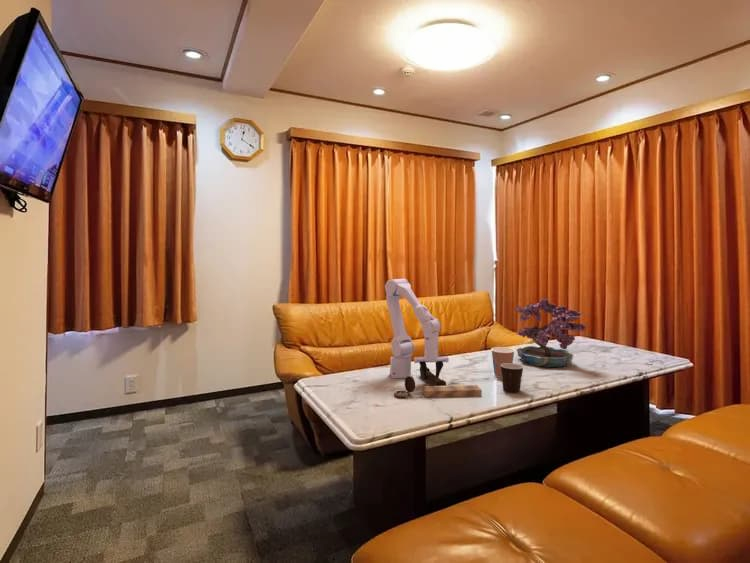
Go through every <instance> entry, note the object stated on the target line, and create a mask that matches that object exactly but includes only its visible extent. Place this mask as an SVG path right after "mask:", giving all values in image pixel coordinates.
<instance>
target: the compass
mask: <svg viewBox="0 0 750 563" xmlns="http://www.w3.org/2000/svg"><path fill="white" fill-rule="evenodd" d="M404 388H405V390H397V391H395V392H394V393H393V396H394V397H395V398H396V399H409V398H411V393H412V392H414V391H415V389H416V381H415V379H414V377H411V376H408V377H406V378H404Z"/></svg>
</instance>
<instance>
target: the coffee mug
mask: <svg viewBox="0 0 750 563" xmlns="http://www.w3.org/2000/svg"><path fill="white" fill-rule="evenodd" d="M523 370H524V366H523V365H521V364H518V363H514V362H513V363H504V364H501V374H502V378H501V380H502V381H501V382H502V390H503V391H504V392H506V393H510V394H517V393H520V392H521V385H522V378H523V373H524V372H523Z"/></svg>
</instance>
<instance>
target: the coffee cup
mask: <svg viewBox="0 0 750 563" xmlns="http://www.w3.org/2000/svg"><path fill="white" fill-rule="evenodd" d="M490 351H491V357H492V364H493V374H494V376H495V377H496V378H501V379H502V374H501V364H504V363H514V362H513V361H514V356H515V351H516V349H514V348H512V347H506V346H496V347H491V349H490Z"/></svg>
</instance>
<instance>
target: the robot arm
mask: <svg viewBox="0 0 750 563" xmlns="http://www.w3.org/2000/svg"><path fill="white" fill-rule="evenodd" d="M384 290H385V294H386V295H385V300H386V304H387V309H388V314H389V318H390V321H391V327H392V331H393V337H392V339H391V341H390V343H391V351H390V352H391V353H392V355H393V356H390V363H389V364H390V365H389V367H390V368H389V374H390V376H391V379H406V377H408V376H411V377H413V374H412V356H413V353H414V351H415V344H414V342H413V341H412V337H411V336H410V335H409V334H407V332H406V327H405V322H404V318H403V313H402V310H401V305H400V299H401V297H404V298H405V300H406V301H407V302H408V303H409V305H410V306H411V307H412V308H413V314H414V316H415V317H416V318H417V320H418V321H419V322H420V324H421V327H420V328H421V331H422V332H423V337H424V351H423V352H424V354H423V355H424V356H420V357H419V356H417V357H413V363H414V364H418V363H419V365H420V366H421V368H422V371H423V375H424V379H425V380H424V381H426V367H427V363H435V376H437V377H439V378H440V373H441V370H442V369H443V367H444V363H449V357H448V356H439V332H440V330H441V328H442V325H441V324H442V323H441V322H440V319H438V318H436V317H434V316H433V315H432V314H431V312H430V311H429V309H428V307H427V305H424V304H421V303H420V301H419V300H418V298H417V296H416V294H415V293H414V291H413V290H412V286H411V284H410V283H409V281H408V279H407V278H398V279H397V278H395V279H394V278H393V279H388V280H387V281H386V283H385V284H384ZM420 366H419V367H420ZM427 368H428V367H427ZM413 378H414V377H413Z"/></svg>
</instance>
